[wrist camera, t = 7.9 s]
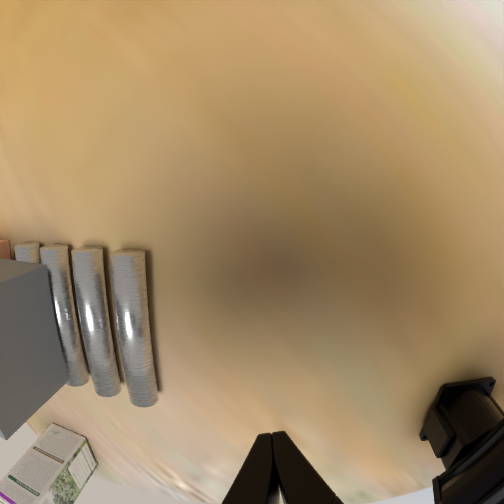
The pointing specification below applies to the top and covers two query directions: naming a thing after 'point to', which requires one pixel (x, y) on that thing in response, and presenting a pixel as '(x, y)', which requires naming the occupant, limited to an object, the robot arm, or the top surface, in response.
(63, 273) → the roller track
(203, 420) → the top surface
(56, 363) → the grey block
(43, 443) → the syrup box
